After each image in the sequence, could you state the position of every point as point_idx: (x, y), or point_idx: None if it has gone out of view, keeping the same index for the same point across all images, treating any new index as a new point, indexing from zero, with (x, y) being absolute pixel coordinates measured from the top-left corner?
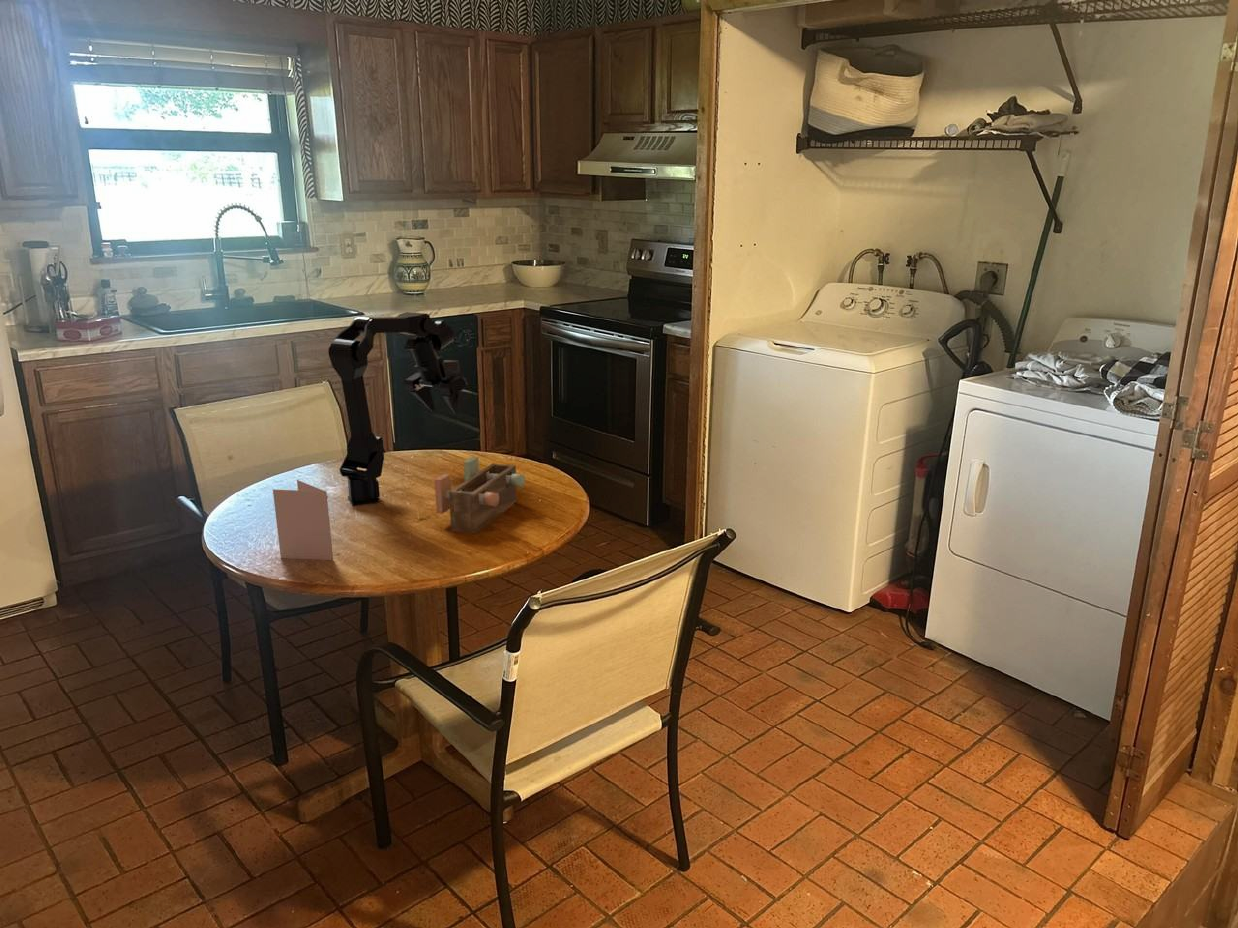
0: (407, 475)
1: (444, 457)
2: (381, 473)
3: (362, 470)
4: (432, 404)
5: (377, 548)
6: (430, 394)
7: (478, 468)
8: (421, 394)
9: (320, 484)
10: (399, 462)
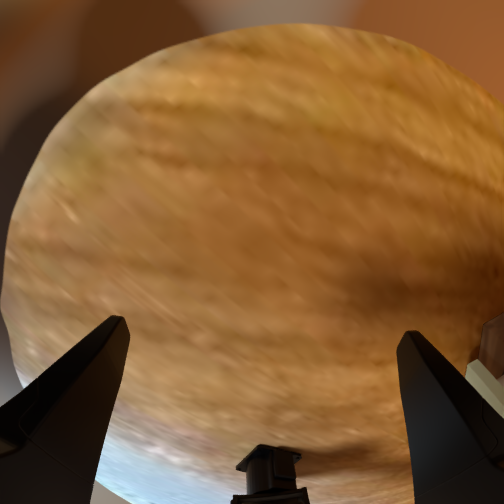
0: (207, 343)
1: (148, 145)
2: (306, 489)
3: (258, 498)
4: (105, 363)
5: (402, 486)
6: (50, 426)
7: (500, 385)
8: (77, 496)
9: (125, 445)
10: (87, 274)
